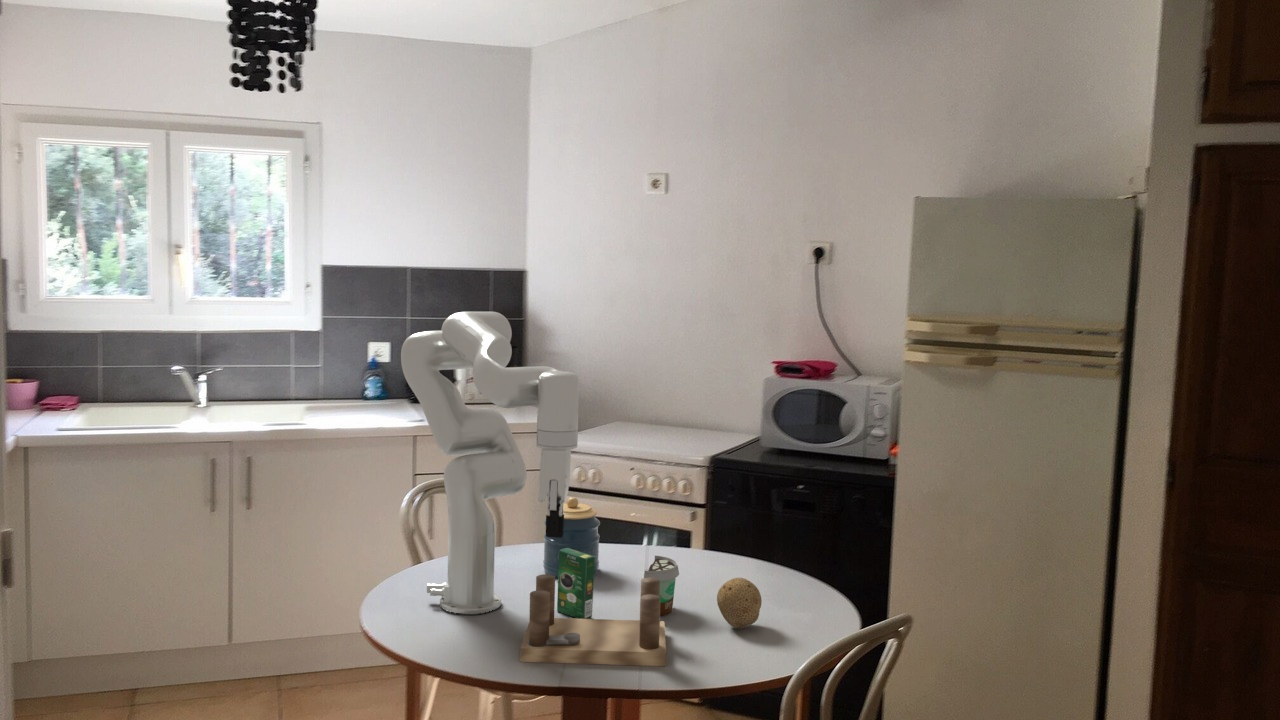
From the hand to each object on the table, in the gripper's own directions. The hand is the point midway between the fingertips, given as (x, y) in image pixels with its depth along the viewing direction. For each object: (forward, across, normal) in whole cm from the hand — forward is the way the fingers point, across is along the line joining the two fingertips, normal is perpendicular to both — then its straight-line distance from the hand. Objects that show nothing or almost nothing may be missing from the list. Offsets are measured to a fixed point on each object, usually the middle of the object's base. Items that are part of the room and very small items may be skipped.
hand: (554, 535), depth 186 cm
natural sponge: (+21, -12, +36) cm, 44 cm away
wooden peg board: (+21, +1, +8) cm, 22 cm away
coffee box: (+21, -16, +3) cm, 27 cm away
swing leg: (+18, +6, +1) cm, 19 cm away
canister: (+21, -45, 0) cm, 50 cm away
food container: (+21, -20, +21) cm, 36 cm away
